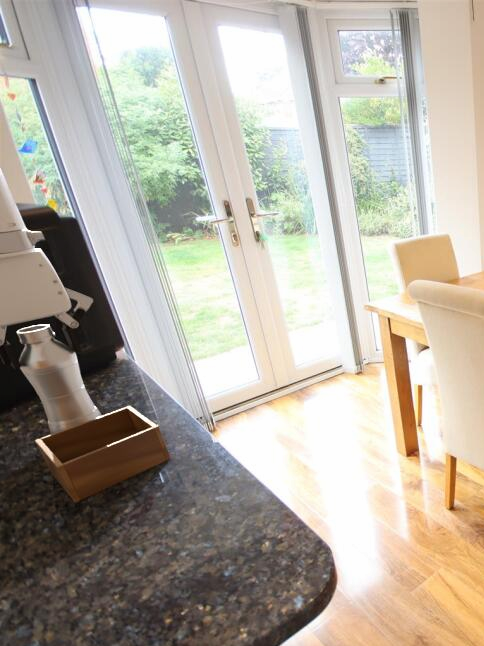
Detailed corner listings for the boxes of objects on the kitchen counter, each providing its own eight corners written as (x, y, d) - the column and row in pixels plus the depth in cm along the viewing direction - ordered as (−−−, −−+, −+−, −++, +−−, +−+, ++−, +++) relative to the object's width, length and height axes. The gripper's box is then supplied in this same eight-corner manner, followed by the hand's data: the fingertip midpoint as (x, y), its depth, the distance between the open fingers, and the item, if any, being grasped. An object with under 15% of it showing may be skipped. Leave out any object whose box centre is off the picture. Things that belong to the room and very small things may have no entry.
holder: (51, 473, 70) (34, 440, 67) (142, 436, 78) (129, 405, 76) (75, 503, 63) (57, 467, 61) (171, 458, 72) (158, 426, 70)
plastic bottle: (56, 438, 78) (2, 329, 71) (106, 422, 83) (61, 318, 75) (57, 454, 74) (0, 340, 66) (111, 436, 78) (63, 327, 71)
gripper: (66, 233, 74) (106, 336, 81) (-103, 253, 61) (-38, 373, 68) (81, 237, 70) (122, 344, 77) (-97, 259, 57) (-28, 386, 64)
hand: (47, 357), depth 73 cm, fingers closed on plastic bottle, 6 cm apart
